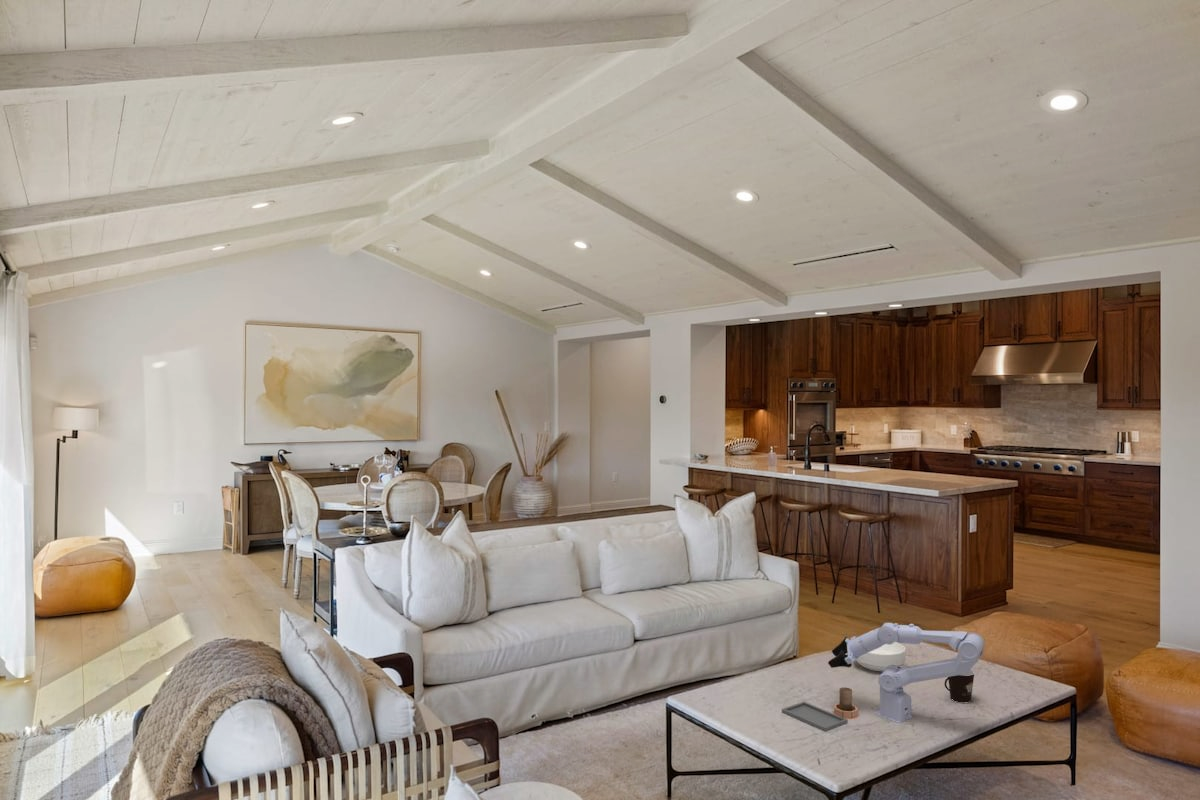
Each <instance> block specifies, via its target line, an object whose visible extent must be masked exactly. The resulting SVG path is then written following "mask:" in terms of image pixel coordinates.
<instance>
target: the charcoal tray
mask: <svg viewBox="0 0 1200 800" xmlns="http://www.w3.org/2000/svg"><path fill="white" fill-rule="evenodd" d="M781 713H782V714H784V715H786V716H789V717H791V718H794V720H795V719H796V720H798V721H800V722H803V723H804V724H807V725H808V726H811V727H814V728H816V729H818V730H820V731H822V732H824V733H825V732H829V731H831V730H834V729H836V728H839V727H841V726H844V725H846V724H848V721H849V719H845V718H842V717H840V716H838V715H835V714H833V712H830V711H827V710H825V709H823V708H821V707H818V706H816V705H813V704H811V703H809V702H806V701H801V702H798V703H796V704H792V705H789V706H787V707H784V708H782V709H781Z"/></svg>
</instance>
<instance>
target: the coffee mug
mask: <svg viewBox="0 0 1200 800" xmlns="http://www.w3.org/2000/svg"><path fill="white" fill-rule="evenodd" d="M974 681H975V671H974V670H972V669H970V670H969V672H968V673H966V674H962V675H956V676H950V677H946V679H945V680H944V687H945V688H946V690H947V691H949V696H950V700H951V699H953V700H954V701H953V700H952V701H953V702H955V701H958V702H969V701H971V700H972V694H973V689H974V688H973V686H974ZM947 682H948V686H947ZM958 702H957V703H958ZM971 702H972V701H971Z"/></svg>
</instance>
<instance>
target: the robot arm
mask: <svg viewBox="0 0 1200 800" xmlns="http://www.w3.org/2000/svg"><path fill="white" fill-rule="evenodd" d="M894 642H897V643H899V644H908V645H909V644H911V645H920V644H921V643H922V642H927V643H928V642H930V643H935V644H943V645H944V644H945V645H948V646H949V647H951V648H952V649H953V651H954V652H956V651H957V655H956V657H955V658H949V659H944V660H938V661H932V662H928V663H927V662H926V663H921V664H916V665H915V664H914V665H910V666H907V665H901V666H897V665H889V666H887V668H886V669H885V671H884V672H881V673H880V675H879V676H878V679H877V680H878V684H879V710H877V711H874V713H873V714H874V715H876V716H877V715H878V716H879V717H882V718H885V719H887V720H890V721H893V722H894V723H898V724H900V723H903V722H905V721H908V720H910V719H913V718H914V716H913V715H912V697H911V695H910V694H908V693H906V691H904V687H905V686H908V685H910V684H912V683H919V682H925V681H932V680H936V679H943V678H948V677H950V676H956V675H962V674H966V673H968V672H969V670H972V669H973V667H974V666H975V665H976V664H977V663H978V662H979V660H980V658H981V656H982V655H983V652H984V649H985V646H986V645H985V643H986V642H985V640H984V638H983V637H982V636H981V635H980V634H978V633H976V632H967V631H963V630H961V631H959V630H957V631H955V630H952V631H951V630H923V629H922V628H921V627H919V626H917V625H915V624H914V623H910V624H908V625H904V624H899V623H898V622H897V623H893V622H884V623H883V624H881V627H878V628H875V629H873V630H870V631H867V632H866V633H863V634H861V635H859V636H856V635H854V636H852V637H850V639H849V637H848V636H846V637H844V638H843V640H842V641H841V642H840V643H839V644H838V645H836V646H835V647H834V648H833V649H832V650H831V653H832V654H833V655H834V657H833V658H832V659H829V660H828V662H827V664H828V665H829V667H830V668H831V669H832V668H840V667H843V668H844V667H845V668H851V667H852V665H853V664H852V663H854V661H856V659H857V658H859V656H862V655H864V654H866V653H868V652H870V651H873V650H875V649H877V648H879V647H881V646H882V645H884V644H888V645H890V644H892V643H894Z"/></svg>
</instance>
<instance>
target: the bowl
mask: <svg viewBox="0 0 1200 800" xmlns="http://www.w3.org/2000/svg"><path fill="white" fill-rule="evenodd" d="M906 652H907V651H906V647H905V646H904V645H903V644H902V643H898V642H894V643H892V644H890V645H888V644H884V645H882V646H881V647H879V648H877V649H875V650H873V651H870V652H868V653H866V654H864V655H862V656H859V658H857V659H855V661H856V662H857V663H858V664H859V665H860V666H862V667H863V668H865V669H866V670H871V671H873V672H881V673H883V672H884V671H885V669H886V668H887V666H889V665H897V666H903V665H904V663H906V656H907V655H906V654H907V653H906Z"/></svg>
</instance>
